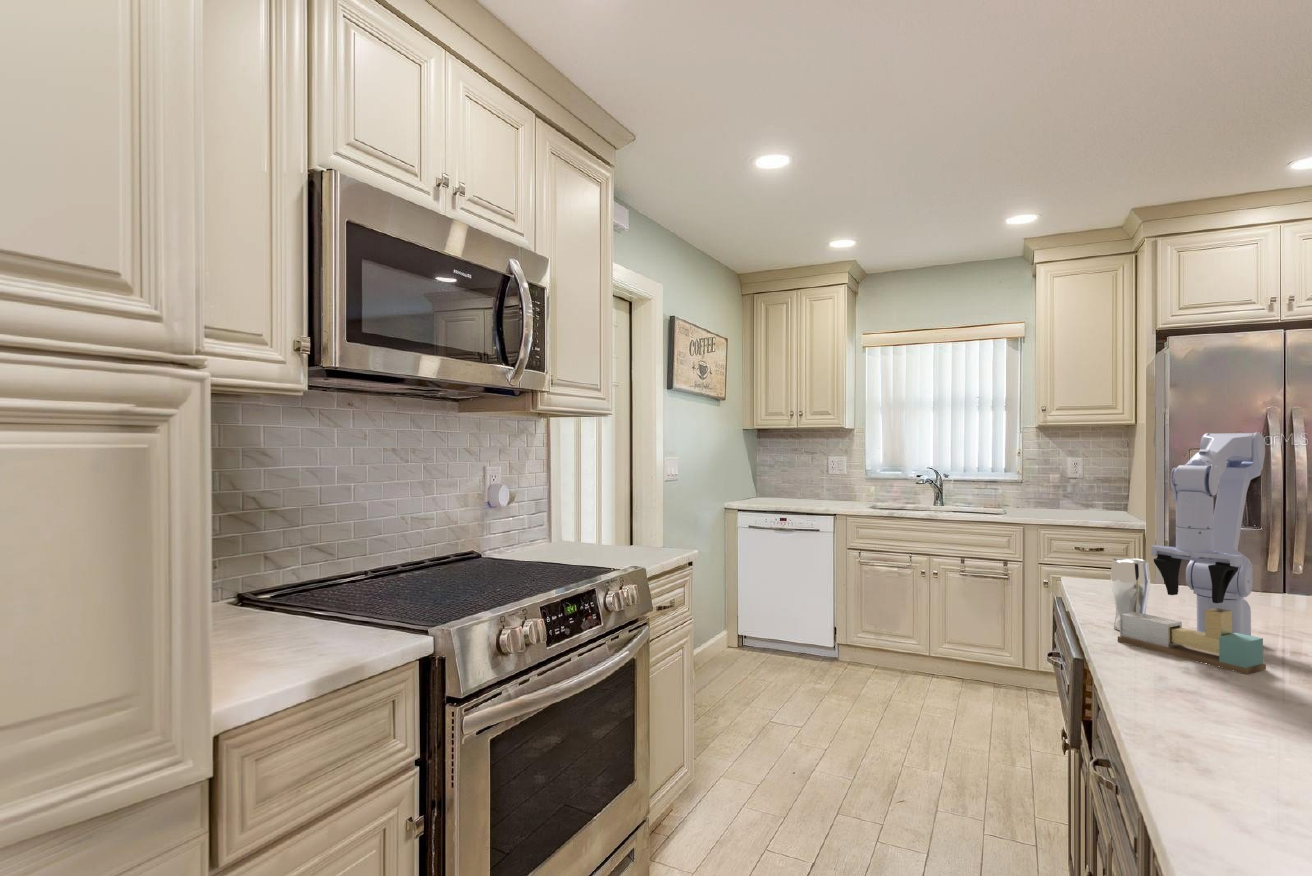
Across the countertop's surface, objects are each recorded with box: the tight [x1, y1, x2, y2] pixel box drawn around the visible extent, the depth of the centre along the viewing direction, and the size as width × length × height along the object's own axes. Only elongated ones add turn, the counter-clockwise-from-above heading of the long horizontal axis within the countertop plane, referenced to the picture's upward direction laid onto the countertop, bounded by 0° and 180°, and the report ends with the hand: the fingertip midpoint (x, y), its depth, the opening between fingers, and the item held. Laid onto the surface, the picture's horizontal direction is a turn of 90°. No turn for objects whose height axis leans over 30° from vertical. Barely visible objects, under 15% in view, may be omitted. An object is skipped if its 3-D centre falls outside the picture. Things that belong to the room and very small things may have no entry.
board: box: [1117, 635, 1267, 675], centre depth 131 cm, size 6×22×1 cm, turn 25°
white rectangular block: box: [1119, 612, 1183, 648], centre depth 137 cm, size 4×9×4 cm, turn 25°
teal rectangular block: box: [1219, 633, 1264, 668], centre depth 123 cm, size 6×4×4 cm
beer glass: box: [1110, 557, 1151, 631], centre depth 148 cm, size 7×7×15 cm
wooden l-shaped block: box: [1170, 608, 1232, 654], centre depth 129 cm, size 4×13×8 cm, turn 25°
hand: (1194, 598), depth 132 cm, fingers open, 7 cm apart
